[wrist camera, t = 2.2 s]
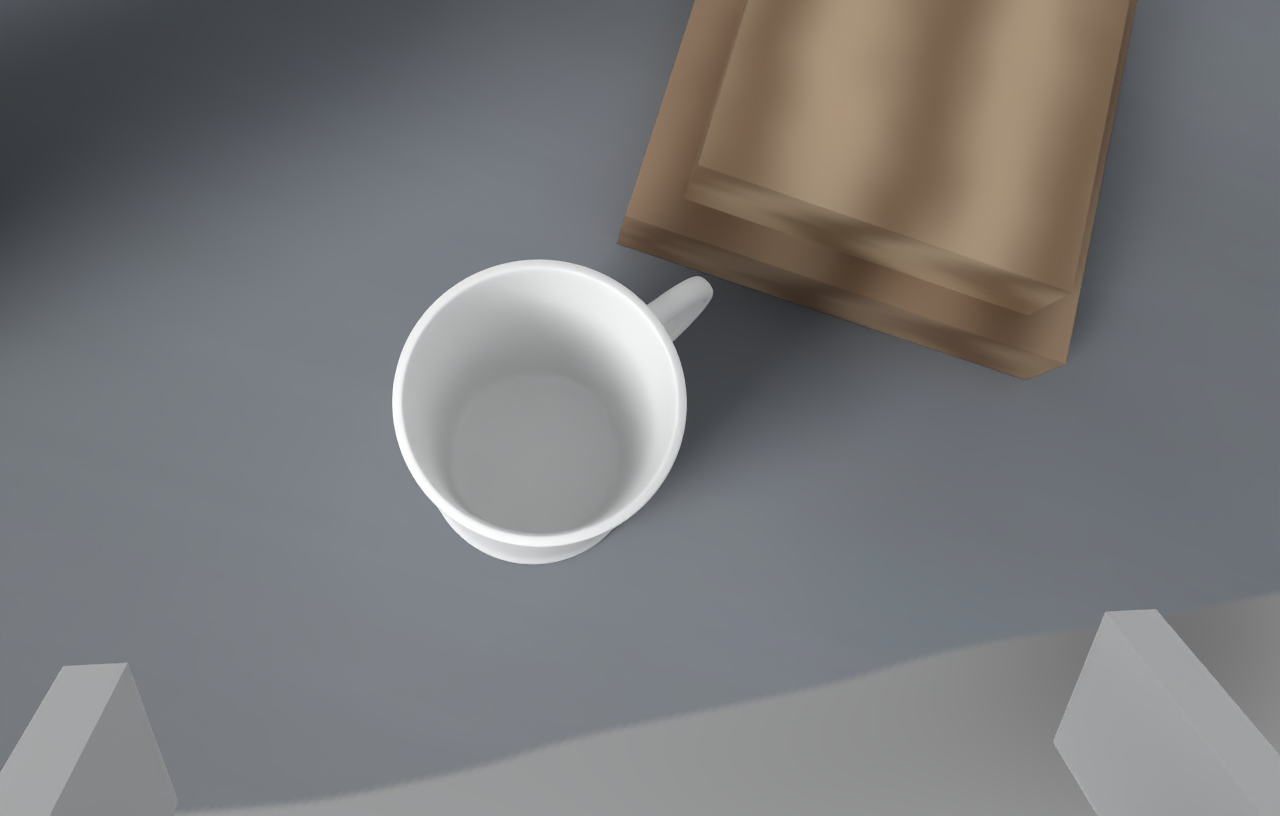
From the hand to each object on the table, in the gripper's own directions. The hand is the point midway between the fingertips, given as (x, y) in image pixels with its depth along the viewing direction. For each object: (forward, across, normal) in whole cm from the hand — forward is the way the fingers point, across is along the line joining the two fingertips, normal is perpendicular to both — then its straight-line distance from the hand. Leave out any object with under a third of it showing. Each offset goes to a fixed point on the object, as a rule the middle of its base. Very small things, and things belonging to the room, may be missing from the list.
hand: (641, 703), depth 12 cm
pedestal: (+32, +14, 0) cm, 35 cm away
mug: (+22, 0, -10) cm, 25 cm away
